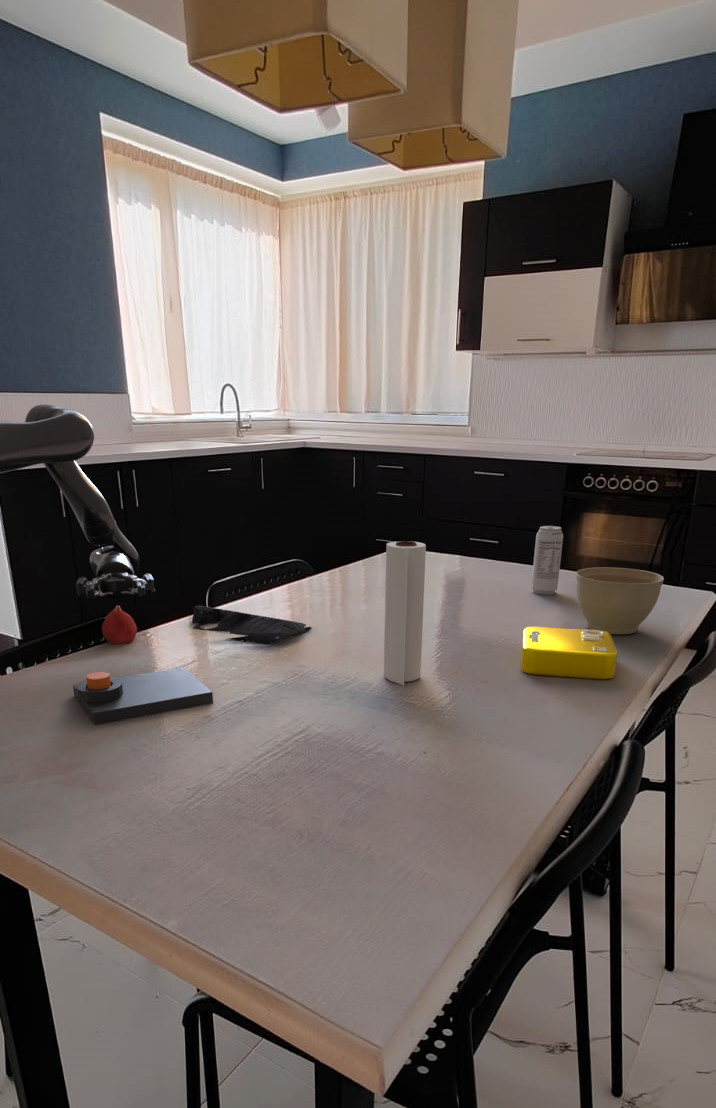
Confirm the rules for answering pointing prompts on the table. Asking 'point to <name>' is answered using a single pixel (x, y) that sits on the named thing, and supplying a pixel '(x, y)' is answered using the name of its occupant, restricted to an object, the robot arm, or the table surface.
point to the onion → (119, 627)
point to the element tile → (568, 653)
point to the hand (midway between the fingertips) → (116, 593)
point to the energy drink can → (547, 560)
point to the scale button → (98, 680)
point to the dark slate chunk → (247, 625)
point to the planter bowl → (617, 597)
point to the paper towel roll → (404, 610)
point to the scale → (142, 695)
